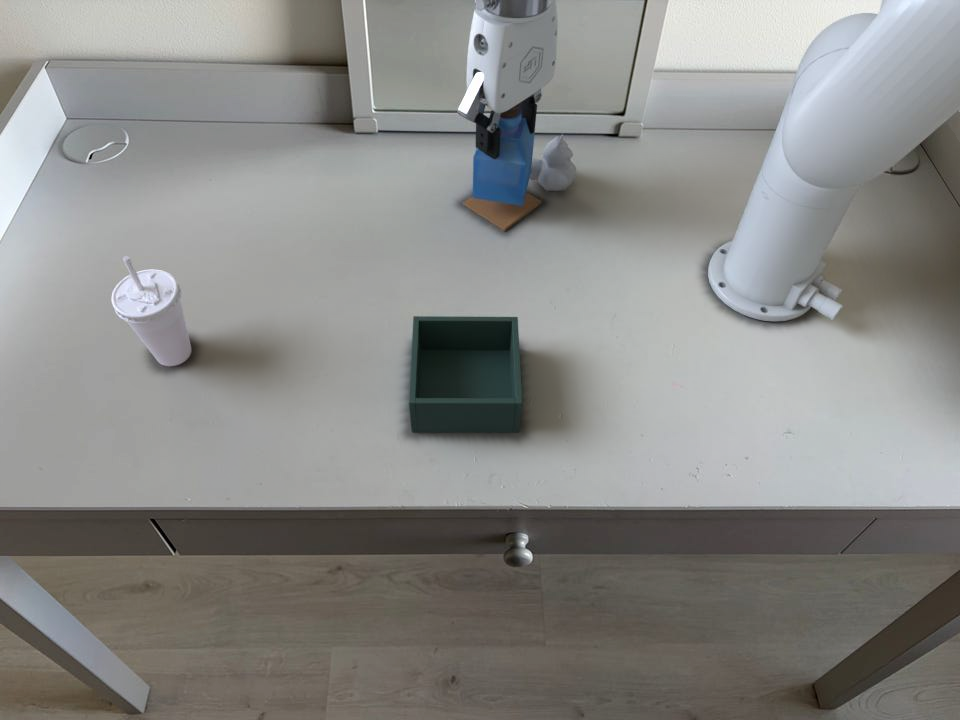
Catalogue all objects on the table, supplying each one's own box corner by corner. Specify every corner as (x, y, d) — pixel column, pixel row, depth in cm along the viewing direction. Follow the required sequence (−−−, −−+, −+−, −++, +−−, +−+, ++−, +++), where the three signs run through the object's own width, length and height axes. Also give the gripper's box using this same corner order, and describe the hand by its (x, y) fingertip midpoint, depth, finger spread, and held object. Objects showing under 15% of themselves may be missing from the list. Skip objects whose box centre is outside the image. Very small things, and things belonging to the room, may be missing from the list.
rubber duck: (575, 199, 99) (583, 148, 93) (524, 198, 99) (528, 147, 93) (573, 171, 103) (580, 120, 96) (523, 170, 103) (527, 119, 96)
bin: (514, 347, 85) (517, 316, 81) (518, 432, 78) (522, 403, 74) (415, 347, 85) (413, 316, 80) (411, 432, 78) (408, 403, 74)
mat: (540, 203, 99) (541, 201, 99) (504, 231, 96) (504, 229, 95) (499, 178, 102) (499, 176, 101) (463, 204, 98) (463, 202, 98)
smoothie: (179, 320, 86) (137, 227, 75) (216, 349, 84) (179, 258, 73) (130, 355, 83) (79, 263, 72) (167, 387, 81) (121, 297, 70)
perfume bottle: (522, 205, 94) (530, 122, 85) (472, 198, 95) (474, 114, 85) (530, 173, 98) (538, 89, 88) (482, 165, 98) (485, 81, 89)
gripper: (484, 38, 71) (479, 191, 86) (597, -29, 79) (575, 122, 93) (426, 7, 74) (430, 160, 88) (541, -54, 82) (528, 96, 96)
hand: (505, 139), depth 91 cm, fingers closed on perfume bottle, 5 cm apart
